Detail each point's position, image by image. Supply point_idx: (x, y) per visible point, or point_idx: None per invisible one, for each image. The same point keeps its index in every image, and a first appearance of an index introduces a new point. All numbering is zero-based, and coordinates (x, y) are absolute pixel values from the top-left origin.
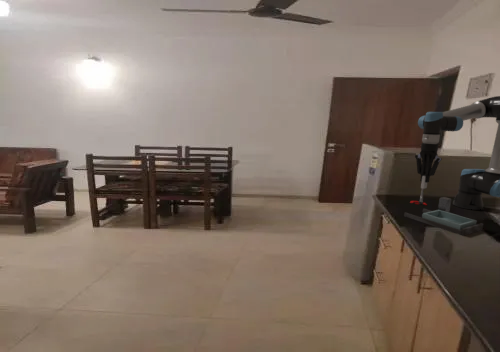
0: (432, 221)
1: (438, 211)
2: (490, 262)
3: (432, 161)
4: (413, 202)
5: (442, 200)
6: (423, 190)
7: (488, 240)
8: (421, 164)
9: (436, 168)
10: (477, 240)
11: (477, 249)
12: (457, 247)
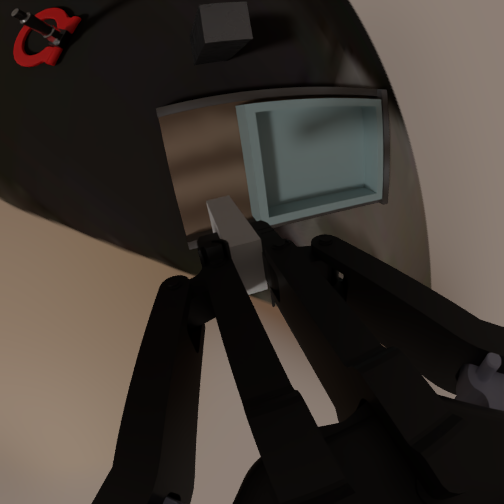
0: (302, 218)
1: (255, 120)
2: (424, 249)
3: (404, 373)
4: (32, 58)
5: (222, 44)
6: (35, 17)
7: (400, 144)
8: (174, 379)
9: (403, 278)
10: (391, 171)
11: (405, 222)
12: (384, 254)
